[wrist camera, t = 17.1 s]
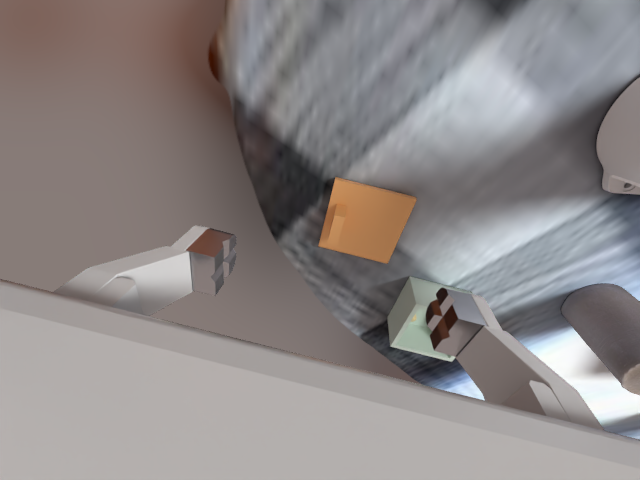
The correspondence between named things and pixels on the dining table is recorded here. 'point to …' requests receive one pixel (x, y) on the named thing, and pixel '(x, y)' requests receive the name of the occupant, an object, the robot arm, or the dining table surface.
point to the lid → (365, 220)
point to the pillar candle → (609, 328)
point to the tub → (415, 318)
